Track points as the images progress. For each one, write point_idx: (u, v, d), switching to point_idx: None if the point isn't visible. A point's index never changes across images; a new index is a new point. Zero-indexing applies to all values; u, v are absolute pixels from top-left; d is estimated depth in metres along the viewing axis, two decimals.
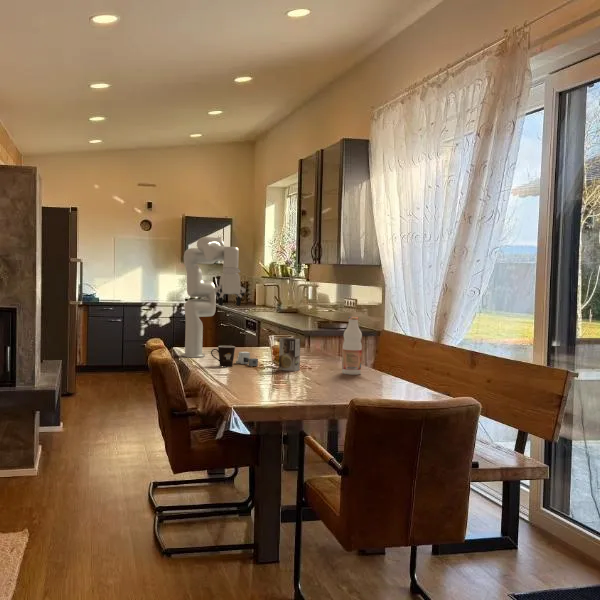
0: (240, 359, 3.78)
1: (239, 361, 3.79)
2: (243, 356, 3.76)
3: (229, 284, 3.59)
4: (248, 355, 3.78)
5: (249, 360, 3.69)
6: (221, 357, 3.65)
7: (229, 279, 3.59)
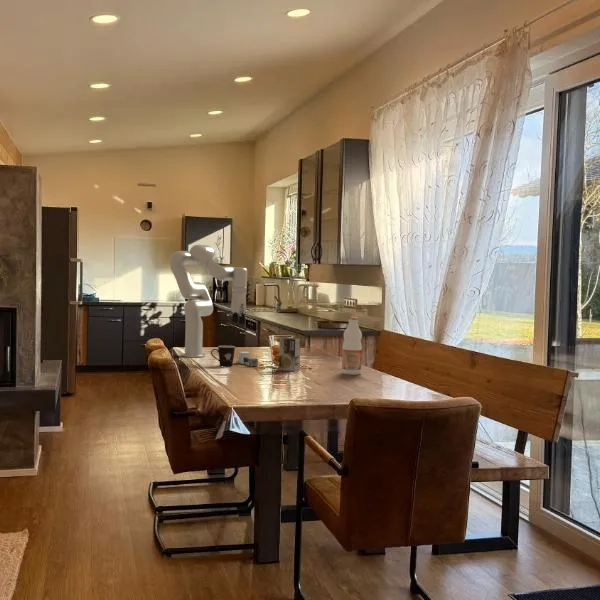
0: (240, 359, 3.78)
1: (239, 361, 3.79)
2: (243, 356, 3.76)
3: None
4: (248, 355, 3.78)
5: (249, 360, 3.69)
6: (221, 357, 3.65)
7: None
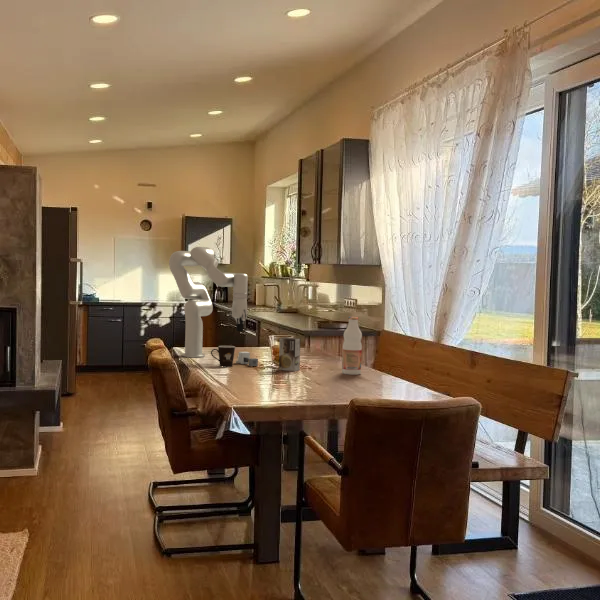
0: (240, 359, 3.78)
1: (239, 361, 3.79)
2: (243, 356, 3.76)
3: None
4: (248, 355, 3.78)
5: (249, 360, 3.69)
6: (221, 357, 3.65)
7: None
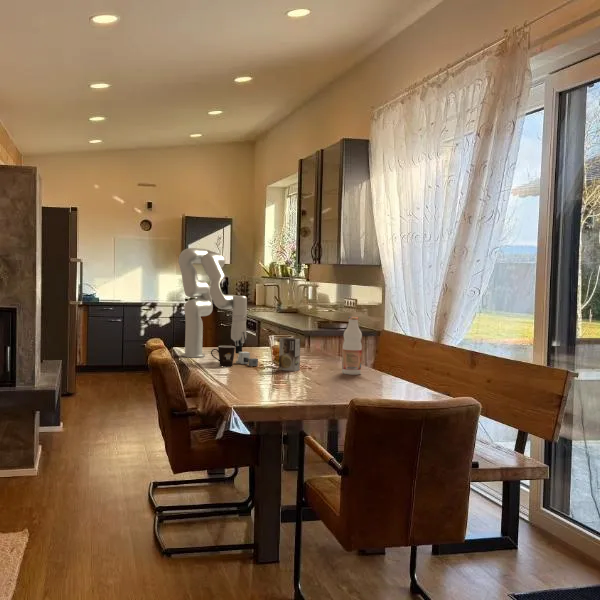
0: (240, 359, 3.78)
1: (239, 361, 3.79)
2: (243, 356, 3.76)
3: None
4: (248, 355, 3.78)
5: (249, 360, 3.69)
6: (221, 357, 3.65)
7: None
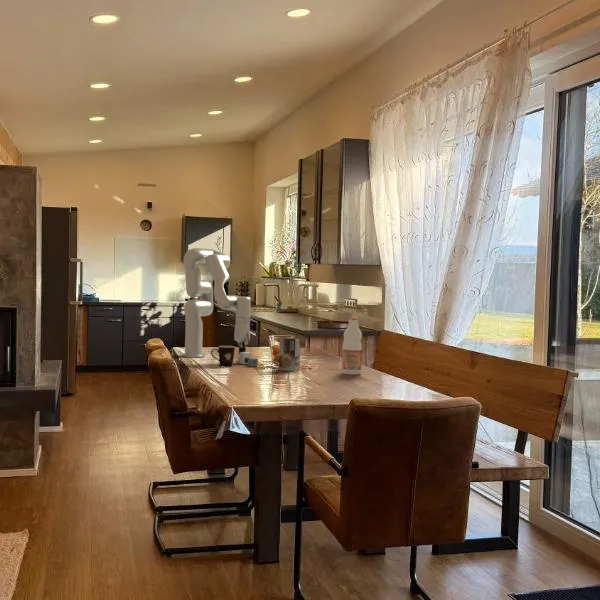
0: (241, 359, 3.77)
1: (240, 361, 3.78)
2: (244, 356, 3.75)
3: None
4: (249, 355, 3.77)
5: (249, 360, 3.69)
6: (221, 357, 3.65)
7: None
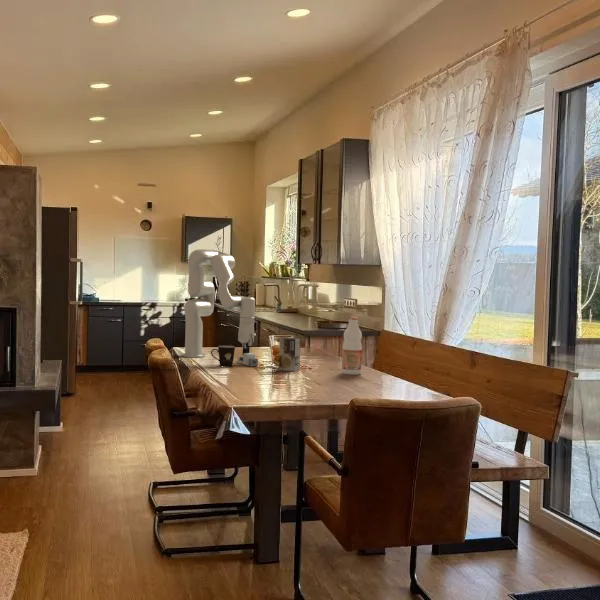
0: (245, 360, 3.73)
1: (244, 362, 3.74)
2: (248, 357, 3.71)
3: None
4: (253, 356, 3.73)
5: (249, 360, 3.69)
6: (221, 357, 3.65)
7: None
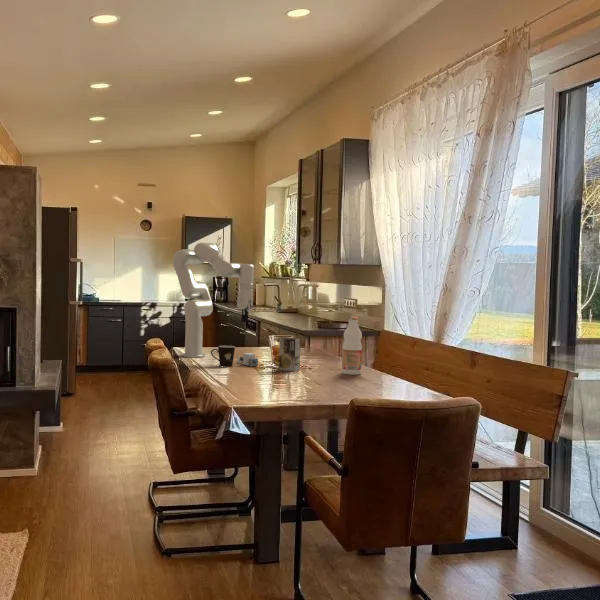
0: (245, 360, 3.73)
1: (244, 362, 3.74)
2: (248, 357, 3.71)
3: None
4: (253, 356, 3.73)
5: (249, 360, 3.69)
6: (221, 357, 3.65)
7: None
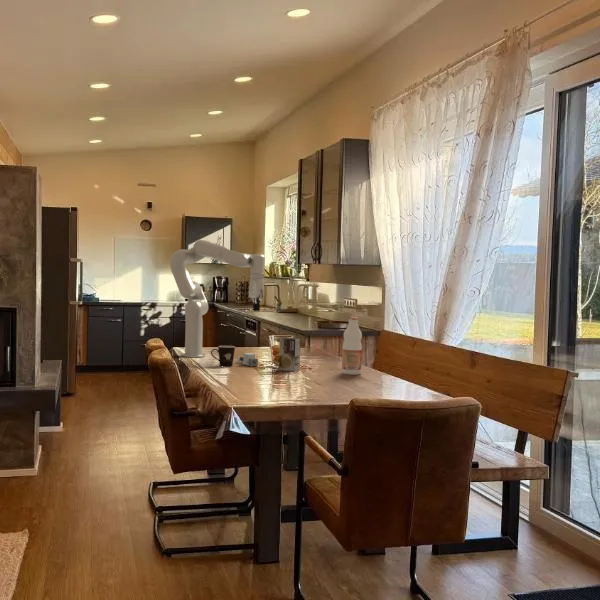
0: (245, 360, 3.73)
1: (244, 362, 3.74)
2: (248, 357, 3.71)
3: None
4: (253, 356, 3.73)
5: (249, 360, 3.69)
6: (221, 357, 3.65)
7: None
